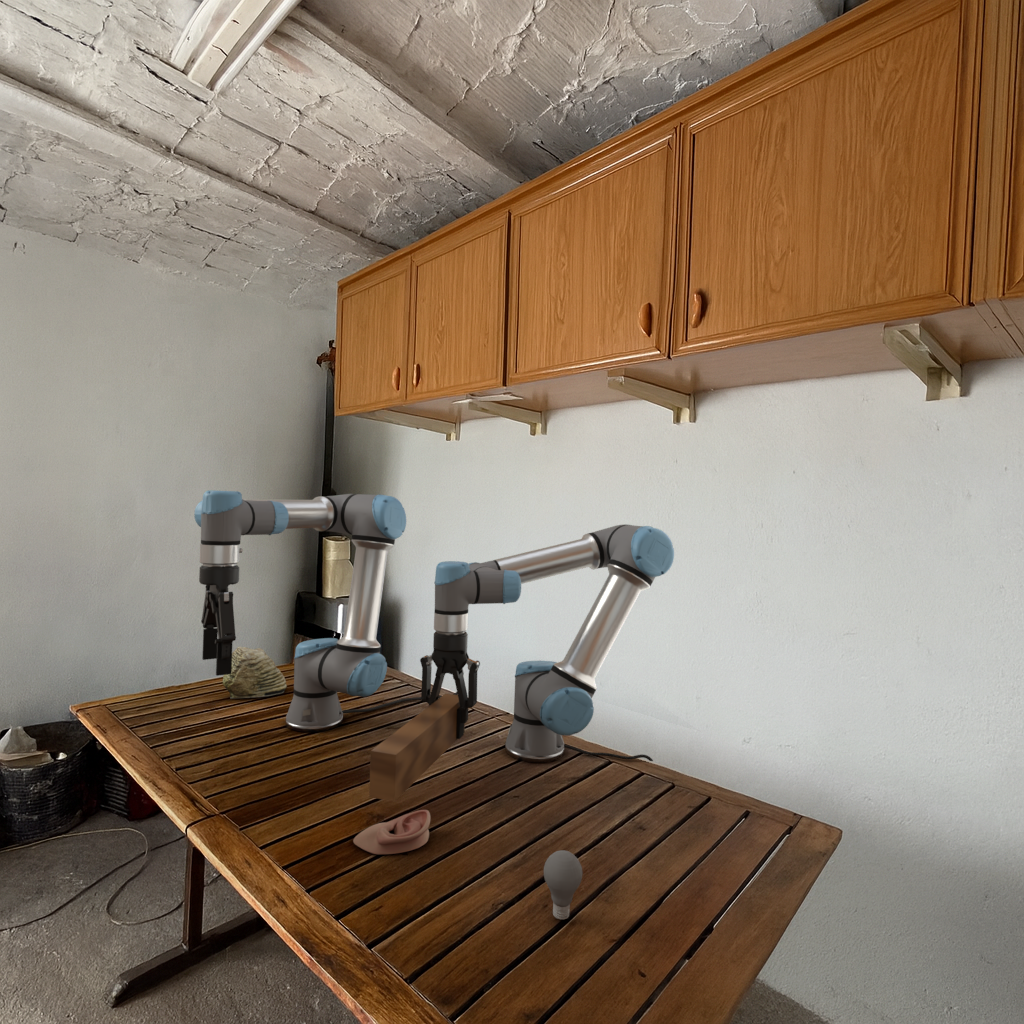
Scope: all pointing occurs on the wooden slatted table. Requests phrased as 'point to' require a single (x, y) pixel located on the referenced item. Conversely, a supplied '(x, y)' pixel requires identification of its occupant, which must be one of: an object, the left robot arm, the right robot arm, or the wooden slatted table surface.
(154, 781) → the wooden slatted table surface
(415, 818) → the anatomical model
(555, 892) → the light bulb
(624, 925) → the wooden slatted table surface
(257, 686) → the fossil
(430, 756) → the bar
